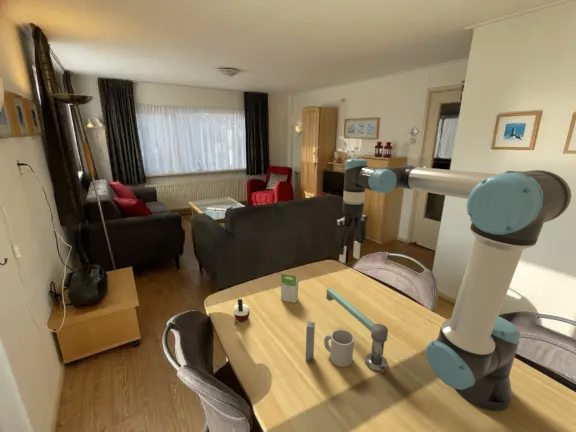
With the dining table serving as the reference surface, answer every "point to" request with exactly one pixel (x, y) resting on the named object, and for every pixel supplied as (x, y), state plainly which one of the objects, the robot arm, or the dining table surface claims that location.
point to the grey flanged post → (376, 358)
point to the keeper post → (310, 341)
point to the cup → (340, 347)
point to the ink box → (289, 288)
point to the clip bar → (360, 317)
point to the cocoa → (241, 311)
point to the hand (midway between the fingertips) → (349, 259)
